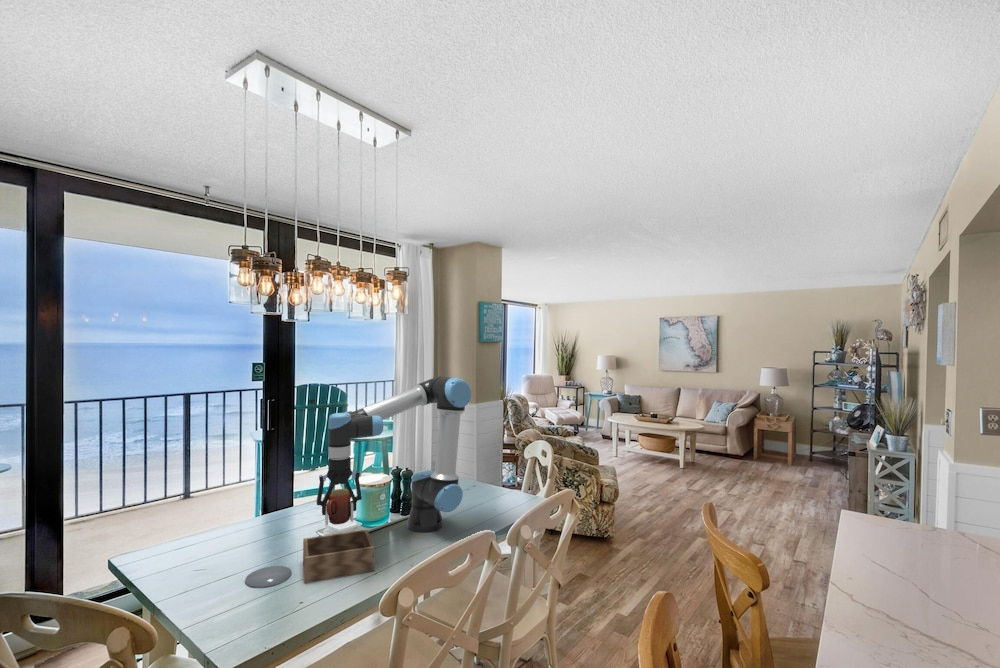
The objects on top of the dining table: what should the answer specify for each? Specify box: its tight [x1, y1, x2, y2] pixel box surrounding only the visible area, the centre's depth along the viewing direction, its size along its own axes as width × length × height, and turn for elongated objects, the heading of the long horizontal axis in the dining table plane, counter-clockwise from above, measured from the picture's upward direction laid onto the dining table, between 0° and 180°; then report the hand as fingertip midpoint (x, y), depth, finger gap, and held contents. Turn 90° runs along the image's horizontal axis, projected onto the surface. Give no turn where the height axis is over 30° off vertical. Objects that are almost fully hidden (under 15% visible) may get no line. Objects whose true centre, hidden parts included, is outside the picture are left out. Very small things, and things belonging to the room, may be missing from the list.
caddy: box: [302, 529, 376, 584], centre depth 170 cm, size 22×17×8 cm
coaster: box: [244, 565, 293, 589], centre depth 161 cm, size 14×14×1 cm
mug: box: [327, 488, 352, 525], centre depth 170 cm, size 12×9×10 cm
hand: (339, 521), depth 170 cm, fingers closed on mug, 8 cm apart
